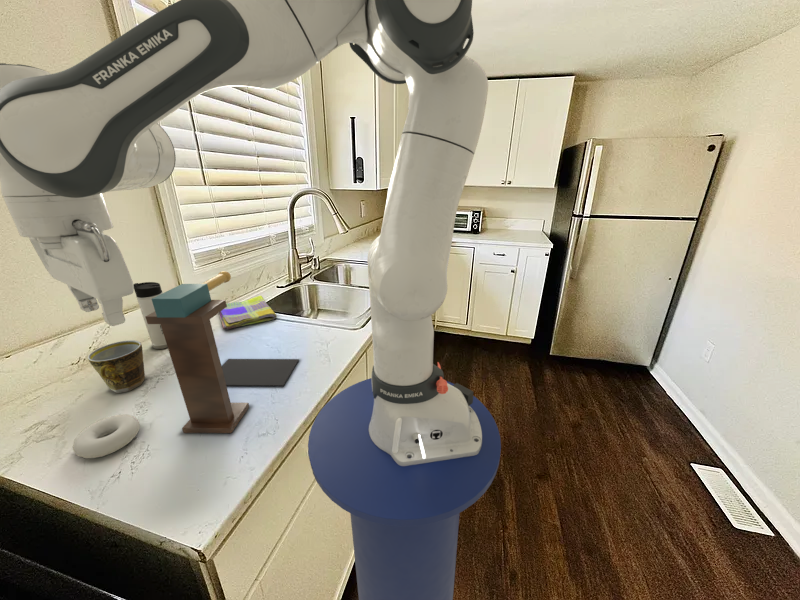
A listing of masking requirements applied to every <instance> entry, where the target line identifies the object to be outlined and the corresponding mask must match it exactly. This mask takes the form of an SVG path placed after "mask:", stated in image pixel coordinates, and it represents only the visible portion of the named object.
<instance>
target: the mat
mask: <svg viewBox="0 0 800 600" xmlns="http://www.w3.org/2000/svg"><path fill="white" fill-rule="evenodd" d="M298 362H299V358H228V359H227V360H226V361H225V362H224V363H223V364H221V366H222V370H223V374H224V378H225V382H226V386H227V387H280V388H281V387H285V385H286V383H287V381H288V379H290V376H291V375H292V373H293V371H294V369H295V368H296V366H297V365H298Z"/></svg>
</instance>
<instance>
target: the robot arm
mask: <svg viewBox="0 0 800 600" xmlns="http://www.w3.org/2000/svg"><path fill="white" fill-rule="evenodd" d="M472 8H473V0H178V1H176V2H174V3H171V4H170V5H168V6H166V7H164V8H163V9H161V10H159V11H157V12H156V13H155V14H153V15H151V16H150V17H148V18H146V19H145V20H143V21H142V22H141V23H139V24H137V25H135V26H134V27H133V28H131V29H130V30H128V31H126V32H124V33H123V34H122V35H120V36H119V37H116V39H114V40H112V41H111V42H109V43H108V44H106V45H105V46H103V47H101V48H100V49H99V50H97V51H95V52H94V53H92V54H91V55H89V56H88V57H86V58H84V59H83V60H81V61H80V62H78V63H76V64H74V65H73V66H71V67H69V68H66V69H64V70H61V71H59V72H55V73H51V72H49V71H47V70H45V69H42V68H38V67H35V66H32V65H26V64H20V63H19V64H17V63H16V64H14V63H6V62H5V63H4V62H3V63H1V62H0V193H1V196H2V198H3V201H4V203H5V205H6V207H7V210H8V212H9V214H10V216H11V219H12V220H13V223H14V225H15V228H16V230H17V232H18V234H19V236H20V237H23V238H28V239H29V241H30V243H31V245H32V248H34V251H35V252H36V254H37V256H38V258H39V260H40V261H41V263H42V265H43V267H44V268H45V270H46V271H47V272H48V274H49V275H50V277H52V279H54V280H56V281H58V282H60V283H63V284H65V285H67V288H68V290H69V291H70V293H71V294H72V296H73V297H74V298H75V300H76V301H77V304H78V307H79V309H80V310H82V311H83V312H85V313H90V312H93V311H97V310H98V309H100V307H101V309H102V312H101V315H102V317H103V320H104V323H106V324H107V325H109V326H111V327H115V326H119V325H122V324H124V323H126V317H125V314H124V311H123V303H124V300H123V298H124V297H127V296H130V295H133V293H134V292H135V290H134V285H133V284H134V282H133V278H132V276H131V274H130V271H129V269H128V266H127V263H126V261H125V258H124V256H123V254H122V251H121V249H120V248H119V245H118V243H117V242H116V240H115V239H114V238H113V237H112V236H110V235H108V234H105V233H104V232H105V231H107V230H111V229H113V228H114V225H113V221H112V218H111V215H110V212H109V209H108V206H107V203H106V200H105V198H104V194H105V193H108V192H121V191H132V190H138V189H139V190H140V189H141V190H142V189H147V188H151V187H152V188H153V187H154V186H157V185H160V184H162V183H164V182H166V181H167V180H168V179H169V178H170V177H171V176H172V174H173V172H174V170H175V168H176V167H175V166H176V150H175V147H174V144H173V142H172V139H171V138H170V136H169V135H168V133H167V132H166V131H165V129H164V128H163V127H162V126H161V125H160V124H159V123H160V122H162V121H163V120H165V119H166V118H167V117H169V116H170V115H172V114H173V113H174V112H176V111H177V110H179V109H180V108H182V107H183V106H184V105H186V104H187V103H188V102H190V101H192V100H193V99H195V98H196V97H198V96H200V95H201V94H204V93H206V92H209V91H212V90H215V89H219V88H220V89H221V88H225V87H246V88H254V89H258V90H259V89H260V90H268V91H269V90H275V89H277V88H278V89H279V87H282V86H284V85H287V84H289V83H291V82H293V81H294V80H296V79H298V78H299V77H302V76H303V75H304V74H306V73H307V72H308V71H310V70H311V69H312V68H314V67H315V66H316V65H317V64H319V63H320V62H321V61H322V60H324V59H325V58H326V57H328V55H330V54H331V53H332V52H334V50H336V49H339V48H340V47H342V46H344V45H345V44H349V48H350V49H351V50H352V51H353V52H354V53H355V55H356V56H357V57H359V59H361V60H362V62H364V64H366V66H367V67H369V69H370V70H371V71H372V72H373V73H374V74H375V75H376V76H377V77H378V78H380V79H381V80H382V81H385V82H386V83H389V84H392V85H403V84H404V85H405V84H406V86H407V90H408V91H407V92H408V105H407V106H408V107H407V110H408V111H407V114H406V117H405V121H404V125H403V129H402V132H401V135H400V139H399V143H398V144H399V145H398V148H397V152H396V156H395V160H394V163H393V168H392V171H391V176H390V179H389V183H388V187H387V193H386V194H387V195H386V201H385V207H384V212H383V219H382V224H381V229H380V234H379V235H378V236H377V237H376V238H375V239H374V240H373V242H372V243H371V244H370V246H369V249H368V253H367V274H368V275H367V276H368V277H367V278H368V291H369V292H368V293H369V307H370V319H371V320H370V322H371V335H372V336H371V337H372V355H373V365H372V370H371V375H370V377H371V380H372V392H373V397H374V406H373V413H372V417H371V421H370V424H369V435H370V437H371V439H372V441H373V442H374V444H375V445H376V446H377V447H379V448H380V449H381V450H383V451H385V452H387V453H388V454H390V455H391V457H392V458H393V459H394V461H395V462H396V463H397V464H398V465H400V466H409V465H416V464H422V463H429V462H436V461H442V460H449V459H455V458H462V457H468V456H474V455H477V454H478V453H479V451H480V449H481V446H482V431H481V426H480V422H479V420H478V417H477V415H476V413H475V412H474V410H473V409H472V408H471V407H470V406H469V405H471V404H472V403H473V396H474V394H475V393H474V391H473V390H471V389H469V388H467V387H465V386H463V385H461V384H460V383H458V382H456V383H453V384H454V385H453V386H452V385H450V384H448V383H447V381H448V380H446V379H445V378H444V377H445V375H444V371H443V369H442V367H441V364H440V362H439V361H437V365H436V364H434V342H435V341H434V340H435V329H434V325H433V319H432V316H433V315H434V314H435V313H436V312H437V311H438V310H439V309H440V308H441V306H442V305H443V303H444V301H445V300H446V296H447V294H448V293H447V292H448V266H449V260H450V256H451V255H450V254H451V250H452V244H453V237H454V236H453V235H454V230H455V222H456V217H457V212H458V209H459V204H460V201H461V197H462V194H463V192H464V188H465V185H466V181H467V179H468V176H469V172H470V169H471V165H472V163H473V160H474V156H475V154H476V150H477V147H478V143H479V139H480V136H481V132H482V127H483V123H484V119H485V113H486V107H487V100H488V93H489V80H488V76H487V73H486V72H485V69H483V67H482V66H481V65H480V64H479V63H478V62H477V61H476V60H474V59H473V58H471V57H469V56H467V55H466V54H467V53H468V51H469V49H470V47H471V45H472V44H473V40H474V33H475V32H474V24H473V16H472V11H473V10H472ZM99 304H100V305H99ZM476 441H477V442H476ZM409 457H410V458H409Z"/></svg>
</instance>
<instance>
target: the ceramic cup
mask: <svg viewBox="0 0 800 600" xmlns="http://www.w3.org/2000/svg"><path fill="white" fill-rule="evenodd" d="M87 360H88V362H89V363H90V365H91V366H92V368H93V369H94V371H96V372H97V373H98V375H99V376H100V378H101V379H102V380H103V382H104V383H105V384H106V386H107V388H109V390H110V391H111V392H114V393H116V394H121V393H126V392H131V391H132V390H134V389H136V388H138V387H140V386H142V385H143V383H144V381H145V380H146V374H145V365H144V364H145V363H144V350H143V346H142V342H141V341H139V340H131V339H129V340H122V341H121V340H120V341H116V342H112V343H109V344H106V345H103V346H101V347H98V348H97V349H95V350H94V351H92V352H90V353H89V354H88V356H87Z"/></svg>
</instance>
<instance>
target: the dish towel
mask: <svg viewBox="0 0 800 600" xmlns="http://www.w3.org/2000/svg"><path fill="white" fill-rule="evenodd" d="M226 305H227V307H226V308H224V309H223V310H222V311H220V312H219V317H220V321H221V325H222V329H228V330H231V329H234V328H235V329H236V328H239V327H243V326H247V325H248V326H249V325H254V324H260V323H263V322H269V321H273V320H275V319H276V318H277V317H278V316H277V314H276V312H275V311H274V310H273V309H272V308H271V306H270V305H269V304H268V303H267V302H266V300H265V299H264V297H263V296H262V295H257V296H254V297H251V298H248V299H245V300H243V301H234V302H228V303H227V302H226Z"/></svg>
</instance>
